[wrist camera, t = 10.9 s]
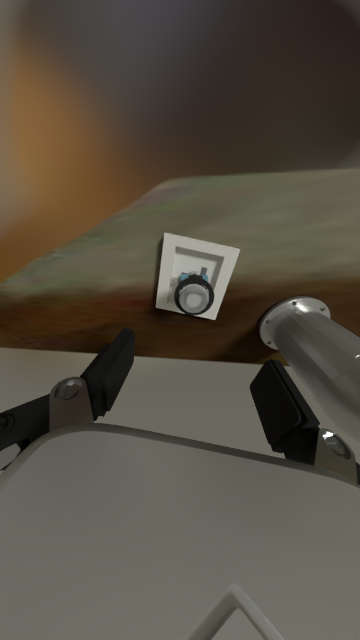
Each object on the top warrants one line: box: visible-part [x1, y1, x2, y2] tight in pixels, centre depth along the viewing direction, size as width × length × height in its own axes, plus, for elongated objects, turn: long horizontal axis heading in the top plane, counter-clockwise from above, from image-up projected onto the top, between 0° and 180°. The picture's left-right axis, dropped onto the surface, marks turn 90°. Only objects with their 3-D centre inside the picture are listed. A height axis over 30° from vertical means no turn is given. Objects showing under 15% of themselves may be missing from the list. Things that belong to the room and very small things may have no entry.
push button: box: [171, 271, 214, 315], centre depth 24 cm, size 7×5×10 cm
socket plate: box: [156, 233, 240, 320], centre depth 28 cm, size 12×13×2 cm
